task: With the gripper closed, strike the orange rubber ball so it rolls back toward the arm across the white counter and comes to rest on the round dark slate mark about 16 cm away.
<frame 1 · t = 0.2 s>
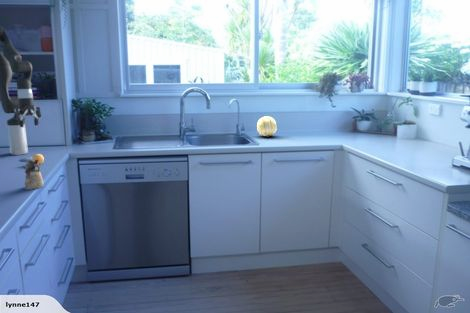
hand: (29, 126, 240), 17 cm above the countertop, tool pointing down, fingers open, 8 cm apart
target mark: (32, 159, 235), on the countertop
ball: (38, 159, 222), on the countertop
figurine: (34, 187, 180), on the countertop
cantaloupe: (266, 136, 309), on the countertop
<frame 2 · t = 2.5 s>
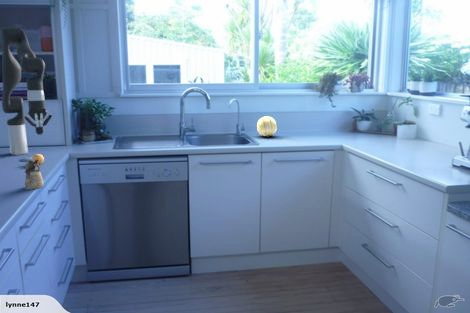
hand: (39, 134, 211), 17 cm above the countertop, tool pointing down, fingers closed
nothing on the countertop moved.
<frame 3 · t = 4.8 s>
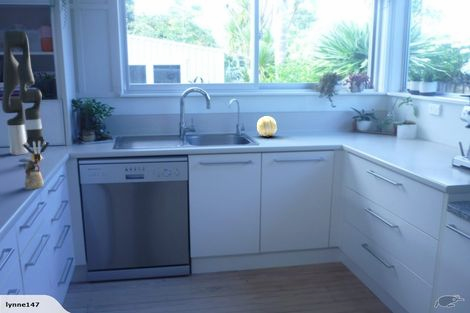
hand: (37, 160, 223), 2 cm above the countertop, tool pointing down, fingers closed
ball: (36, 157, 226), on the countertop, touching gripper
everything else where it was.
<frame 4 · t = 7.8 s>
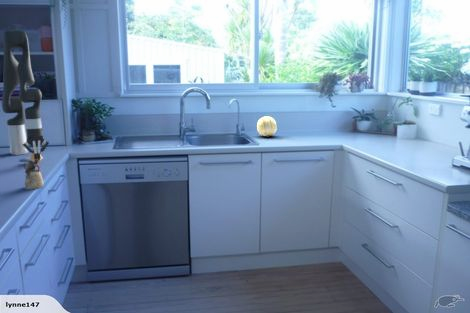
hand: (37, 160, 223), 2 cm above the countertop, tool pointing down, fingers closed
nothing on the countertop moved.
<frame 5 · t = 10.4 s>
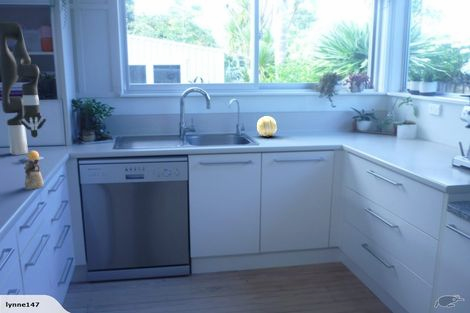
hand: (34, 137, 222), 14 cm above the countertop, tool pointing down, fingers closed
ball: (33, 155, 231), on the countertop
everything else where it was.
at the end: ball 4.1 cm from the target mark (horizontally); ball at rest at the end (0.0 cm/s); ball moved 11.7 cm from its start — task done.
